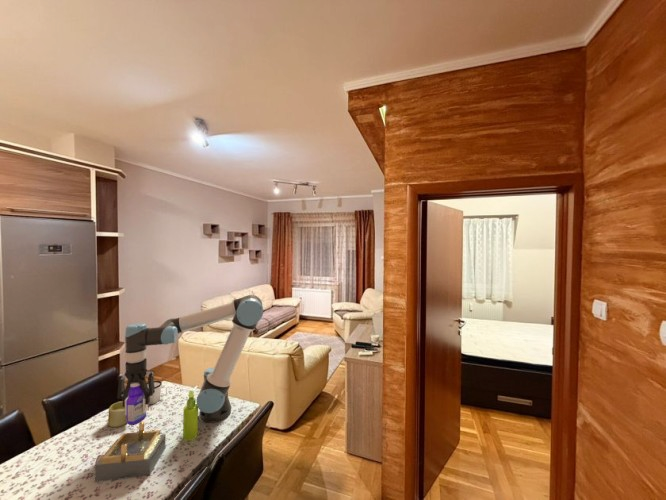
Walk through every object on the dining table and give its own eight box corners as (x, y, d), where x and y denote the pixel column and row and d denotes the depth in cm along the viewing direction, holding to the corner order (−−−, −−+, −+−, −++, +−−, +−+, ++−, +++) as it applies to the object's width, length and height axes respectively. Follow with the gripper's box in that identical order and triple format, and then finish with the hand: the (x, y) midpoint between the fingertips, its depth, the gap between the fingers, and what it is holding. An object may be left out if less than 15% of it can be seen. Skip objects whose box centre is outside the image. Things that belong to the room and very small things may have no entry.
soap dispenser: (182, 443, 119) (183, 397, 120) (182, 434, 126) (183, 390, 126) (198, 439, 122) (199, 394, 122) (197, 430, 128) (198, 387, 128)
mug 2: (139, 407, 146) (139, 390, 146) (142, 398, 155) (143, 382, 155) (165, 402, 151) (165, 386, 151) (167, 394, 160) (168, 378, 160)
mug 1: (97, 422, 130) (108, 400, 132) (120, 417, 139) (129, 397, 141) (111, 435, 125) (122, 412, 127) (134, 429, 134) (143, 408, 136)
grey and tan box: (165, 447, 117) (166, 419, 117) (149, 476, 102) (150, 443, 102) (109, 453, 113) (110, 424, 113) (84, 483, 98) (85, 450, 98)
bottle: (134, 427, 117) (134, 386, 117) (123, 425, 118) (123, 385, 118) (149, 417, 124) (148, 378, 124) (138, 415, 125) (138, 377, 125)
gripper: (163, 354, 126) (164, 405, 126) (116, 358, 123) (116, 410, 123) (156, 361, 119) (156, 414, 119) (105, 365, 115) (106, 420, 115)
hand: (136, 412), depth 121 cm, fingers closed on bottle, 6 cm apart
